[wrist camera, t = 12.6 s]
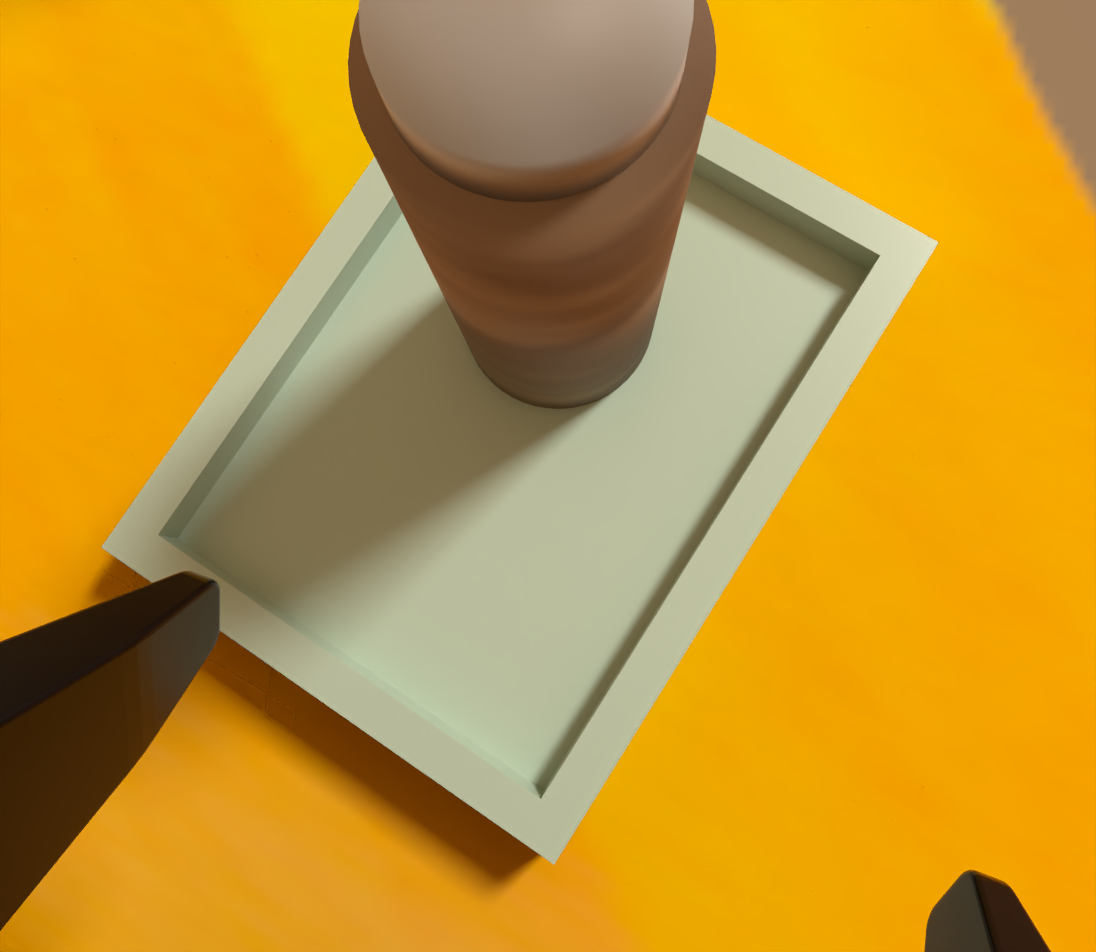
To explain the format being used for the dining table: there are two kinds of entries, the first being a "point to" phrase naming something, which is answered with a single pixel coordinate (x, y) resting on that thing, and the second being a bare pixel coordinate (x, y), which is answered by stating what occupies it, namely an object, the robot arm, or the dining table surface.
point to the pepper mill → (540, 169)
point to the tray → (516, 481)
